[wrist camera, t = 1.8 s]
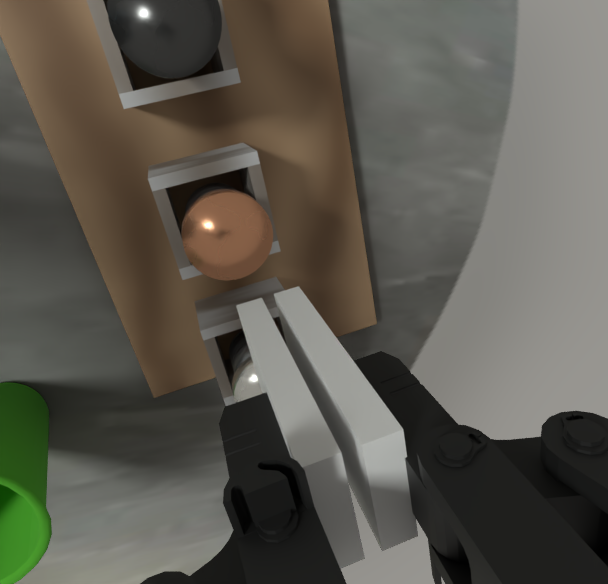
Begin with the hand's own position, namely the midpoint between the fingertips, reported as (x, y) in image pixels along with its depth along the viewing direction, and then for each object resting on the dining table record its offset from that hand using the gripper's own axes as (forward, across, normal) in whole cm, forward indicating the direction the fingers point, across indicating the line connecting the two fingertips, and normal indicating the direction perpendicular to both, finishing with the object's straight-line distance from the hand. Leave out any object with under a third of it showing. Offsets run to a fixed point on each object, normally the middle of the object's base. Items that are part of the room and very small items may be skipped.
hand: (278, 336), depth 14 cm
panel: (+20, +1, 0) cm, 20 cm away
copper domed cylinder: (+15, 0, 0) cm, 15 cm away
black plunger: (+15, 0, +9) cm, 18 cm away
